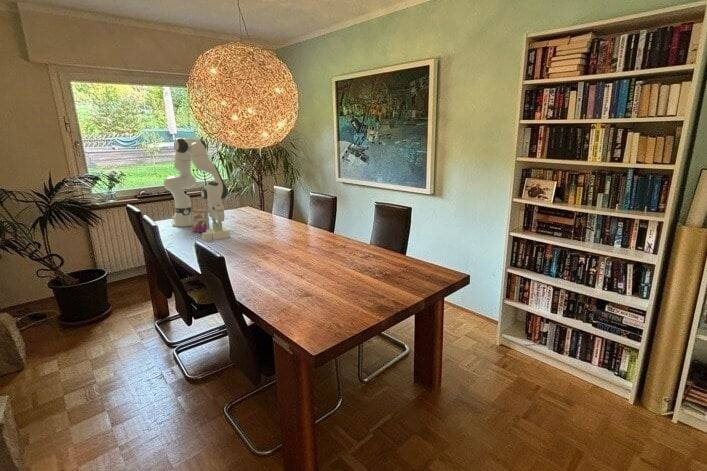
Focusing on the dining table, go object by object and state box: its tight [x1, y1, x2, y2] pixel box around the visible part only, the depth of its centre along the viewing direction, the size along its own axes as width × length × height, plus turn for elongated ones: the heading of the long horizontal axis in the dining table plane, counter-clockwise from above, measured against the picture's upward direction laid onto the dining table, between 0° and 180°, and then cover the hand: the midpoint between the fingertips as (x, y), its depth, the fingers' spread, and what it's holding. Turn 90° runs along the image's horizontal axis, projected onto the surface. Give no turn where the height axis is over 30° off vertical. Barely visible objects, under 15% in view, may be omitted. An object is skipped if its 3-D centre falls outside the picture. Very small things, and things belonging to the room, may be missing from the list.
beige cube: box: [201, 232, 213, 242], centre depth 245 cm, size 5×5×5 cm
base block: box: [206, 226, 231, 241], centre depth 254 cm, size 12×12×5 cm
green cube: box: [212, 221, 223, 231], centre depth 252 cm, size 5×5×5 cm
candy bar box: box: [191, 208, 211, 233], centre depth 263 cm, size 11×5×16 cm, turn 84°
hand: (217, 225), depth 252 cm, fingers open, 8 cm apart
